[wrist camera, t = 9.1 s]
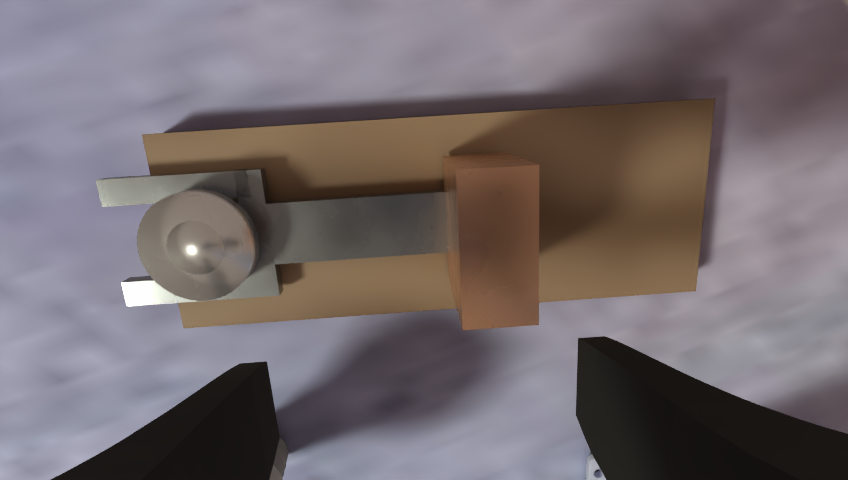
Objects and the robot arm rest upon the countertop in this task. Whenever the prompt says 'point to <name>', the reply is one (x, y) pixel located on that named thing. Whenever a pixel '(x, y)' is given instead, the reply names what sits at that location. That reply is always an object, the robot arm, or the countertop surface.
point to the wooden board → (423, 171)
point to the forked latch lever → (382, 231)
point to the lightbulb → (279, 461)
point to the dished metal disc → (198, 244)
